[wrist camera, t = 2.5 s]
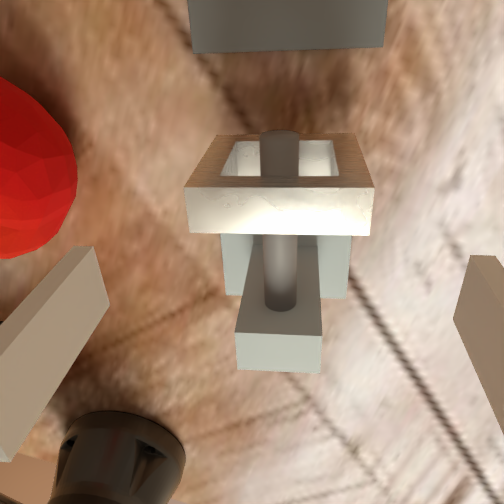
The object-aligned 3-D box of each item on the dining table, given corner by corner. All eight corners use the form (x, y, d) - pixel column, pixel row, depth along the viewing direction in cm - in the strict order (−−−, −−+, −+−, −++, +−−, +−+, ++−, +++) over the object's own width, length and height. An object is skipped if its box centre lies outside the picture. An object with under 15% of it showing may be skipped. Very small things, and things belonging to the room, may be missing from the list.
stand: (343, 284, 36) (359, 398, 26) (229, 281, 37) (201, 389, 27) (360, 96, 28) (393, 153, 18) (213, 99, 29) (165, 155, 19)
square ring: (220, 170, 29) (189, 232, 21) (216, 134, 28) (183, 187, 20) (351, 170, 28) (368, 235, 20) (354, 133, 27) (374, 187, 19)
